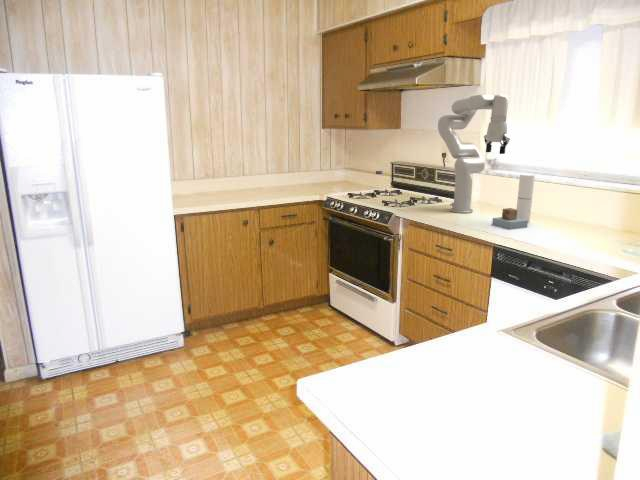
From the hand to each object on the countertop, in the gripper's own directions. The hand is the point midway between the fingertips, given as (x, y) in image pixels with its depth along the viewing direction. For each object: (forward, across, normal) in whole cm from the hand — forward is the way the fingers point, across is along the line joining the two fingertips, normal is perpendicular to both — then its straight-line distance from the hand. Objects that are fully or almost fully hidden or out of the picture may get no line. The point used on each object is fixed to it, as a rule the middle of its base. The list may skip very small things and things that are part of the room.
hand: (495, 153), depth 262 cm
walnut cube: (+32, +17, -3) cm, 36 cm away
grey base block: (+36, +18, -3) cm, 40 cm away
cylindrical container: (+36, +12, +12) cm, 40 cm away
